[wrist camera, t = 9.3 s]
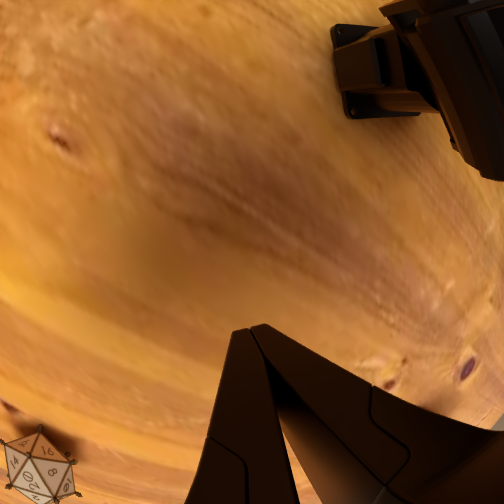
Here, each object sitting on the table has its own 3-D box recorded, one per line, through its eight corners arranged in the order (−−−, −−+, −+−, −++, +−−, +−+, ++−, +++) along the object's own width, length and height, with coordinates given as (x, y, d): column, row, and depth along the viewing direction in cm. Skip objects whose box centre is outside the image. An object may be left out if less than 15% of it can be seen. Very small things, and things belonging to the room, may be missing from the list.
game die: (34, 409, 25) (-33, 432, 15) (86, 422, 23) (10, 459, 13) (57, 475, 24) (1, 508, 14) (112, 495, 22) (53, 542, 12)
